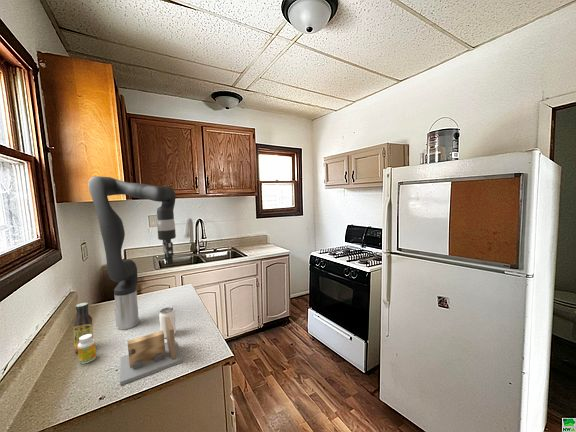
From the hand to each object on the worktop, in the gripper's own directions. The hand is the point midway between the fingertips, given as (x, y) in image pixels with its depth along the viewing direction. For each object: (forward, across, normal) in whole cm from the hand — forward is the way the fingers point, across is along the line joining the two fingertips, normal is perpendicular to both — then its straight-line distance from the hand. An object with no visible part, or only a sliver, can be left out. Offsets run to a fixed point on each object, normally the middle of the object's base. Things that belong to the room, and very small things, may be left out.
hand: (168, 262), depth 117 cm
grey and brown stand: (+33, -21, +12) cm, 41 cm away
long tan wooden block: (+32, -21, +12) cm, 40 cm away
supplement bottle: (+33, -4, +32) cm, 47 cm away
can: (+33, -4, +3) cm, 34 cm away
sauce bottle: (+33, +5, +34) cm, 48 cm away
